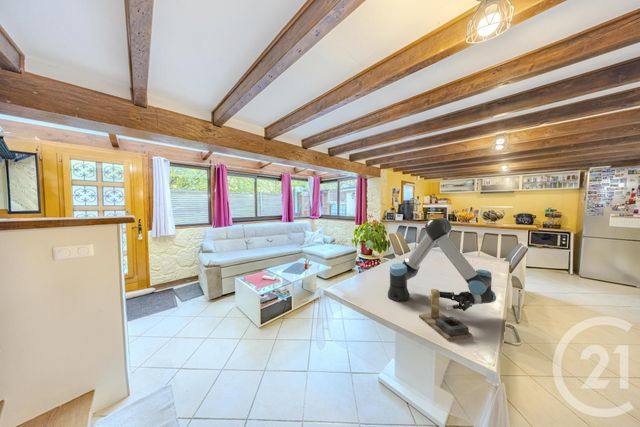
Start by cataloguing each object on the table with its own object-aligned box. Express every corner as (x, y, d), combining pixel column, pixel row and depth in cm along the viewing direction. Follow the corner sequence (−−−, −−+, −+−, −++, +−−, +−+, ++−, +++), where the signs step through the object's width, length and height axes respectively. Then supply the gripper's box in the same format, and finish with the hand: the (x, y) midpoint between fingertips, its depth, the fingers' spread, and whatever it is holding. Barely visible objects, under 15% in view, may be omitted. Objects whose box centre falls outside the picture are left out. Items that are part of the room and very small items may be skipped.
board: (419, 317, 124) (419, 309, 124) (440, 314, 126) (440, 306, 126) (447, 340, 102) (447, 330, 102) (472, 337, 105) (472, 327, 105)
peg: (429, 316, 122) (429, 289, 122) (435, 315, 123) (435, 288, 122) (434, 319, 118) (434, 292, 118) (440, 318, 119) (440, 291, 119)
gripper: (490, 315, 112) (455, 319, 108) (452, 295, 136) (423, 298, 132) (490, 301, 111) (455, 305, 108) (452, 284, 136) (423, 287, 132)
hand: (437, 301), depth 120 cm, fingers open, 13 cm apart
